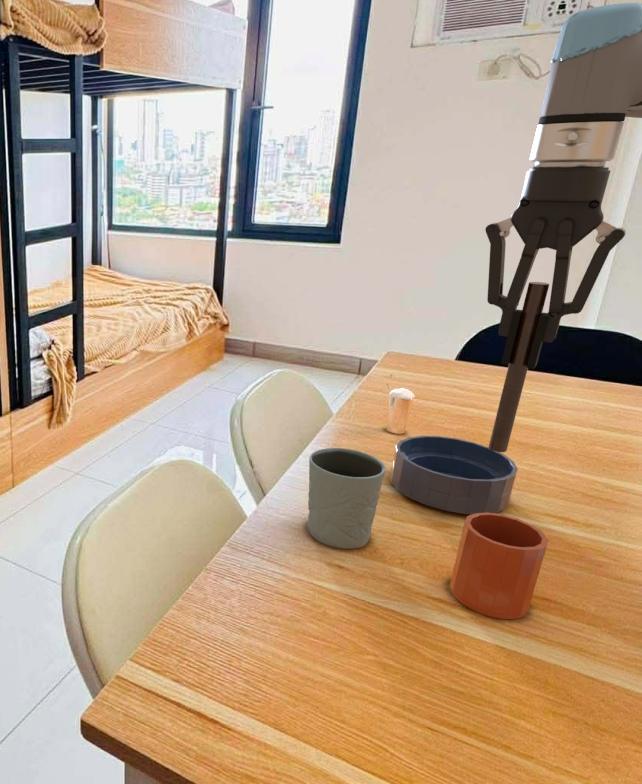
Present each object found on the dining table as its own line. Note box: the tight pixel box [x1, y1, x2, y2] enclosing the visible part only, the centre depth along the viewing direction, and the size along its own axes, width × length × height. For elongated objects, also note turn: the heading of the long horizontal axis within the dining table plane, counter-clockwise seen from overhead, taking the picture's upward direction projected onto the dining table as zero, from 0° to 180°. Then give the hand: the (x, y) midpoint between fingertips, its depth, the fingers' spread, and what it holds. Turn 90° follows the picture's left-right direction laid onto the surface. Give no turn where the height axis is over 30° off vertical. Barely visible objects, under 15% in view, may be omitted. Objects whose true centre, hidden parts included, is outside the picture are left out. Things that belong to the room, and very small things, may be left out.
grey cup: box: [307, 447, 387, 550], centre depth 93 cm, size 10×10×12 cm
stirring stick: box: [488, 281, 550, 453], centre depth 79 cm, size 2×2×22 cm
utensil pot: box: [449, 512, 549, 620], centre depth 79 cm, size 8×8×10 cm
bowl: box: [389, 435, 518, 515], centre depth 105 cm, size 17×17×6 cm
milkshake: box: [386, 383, 415, 435], centre depth 129 cm, size 4×5×10 cm
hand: (519, 363), depth 79 cm, fingers closed on stirring stick, 2 cm apart
